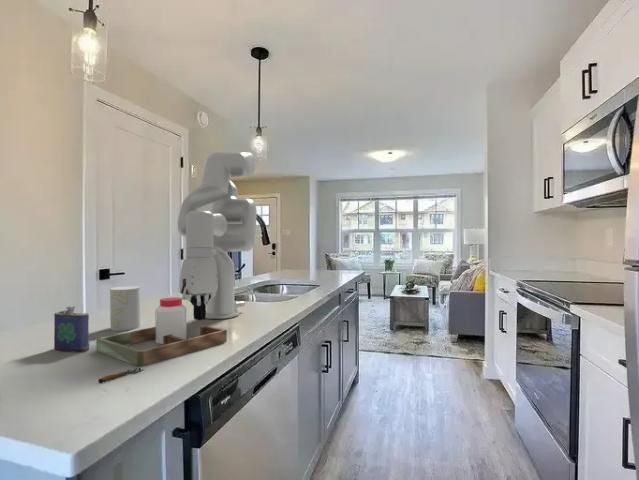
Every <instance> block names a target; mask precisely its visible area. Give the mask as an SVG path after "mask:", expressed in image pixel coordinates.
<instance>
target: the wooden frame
mask: <svg viewBox="0 0 639 480" xmlns="http://www.w3.org/2000/svg"><path fill="white" fill-rule="evenodd" d="M227 335H228V334H227V330H226V329H223V328H217V327H214V326H208V325H204V326H201V327H200V328H199V336H195V337H190V338H187V339H183V338H179V337H175V336H172V335H171V334H170V335H165V336H163V344H161V345H159V346H155V347H150V348H148V349H143V350H140V349H137V348H134V347H130V346H131V345H133V344H138V343H143V342H146V341H147V342H148V341H151V340H154V339H155V340H156V334H155V326H152V327H146V328H143V329H138V330H134V331H133V330H132V331H128V332H123V333H117V334H113V335H108V336H104V337H103V336H101V337H98V338H95V341H96V342H95V343H96V344H95V345H96V350H95V351H96V352H98V353H99V354H103V355H106V356H108V357H112V358H114V359H116V360H120V361H123V362H125V363H128V364H131V365H134V366H137V367H143V366H146V365H149V364H153V363H157V362H159V361H160V362H161V361H163V360H167V359H170V358H173V357H178V356H181V355H184V354H189V353H191V352H195V351H200V350H202V349H206V348H209V347H213V346H216V345H220V344H224V343H226V342H228V340H227V339H228V338H227V337H228V336H227Z"/></svg>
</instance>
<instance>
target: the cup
mask: <svg viewBox="0 0 639 480" xmlns="http://www.w3.org/2000/svg"><path fill="white" fill-rule="evenodd" d="M109 297H110V298H109V302H110V305H109V311H110V316H109V318H110V322H109V323H110V330H111V331H117V332H118V331H120V332H121V331H122V332H123V331H130V330H132V331H133V330H135V329H139V328H140V327H141V286H139V285H138V286H135V285H129V286H127V285H125V286H115V287H111V288H110V289H109Z"/></svg>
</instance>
